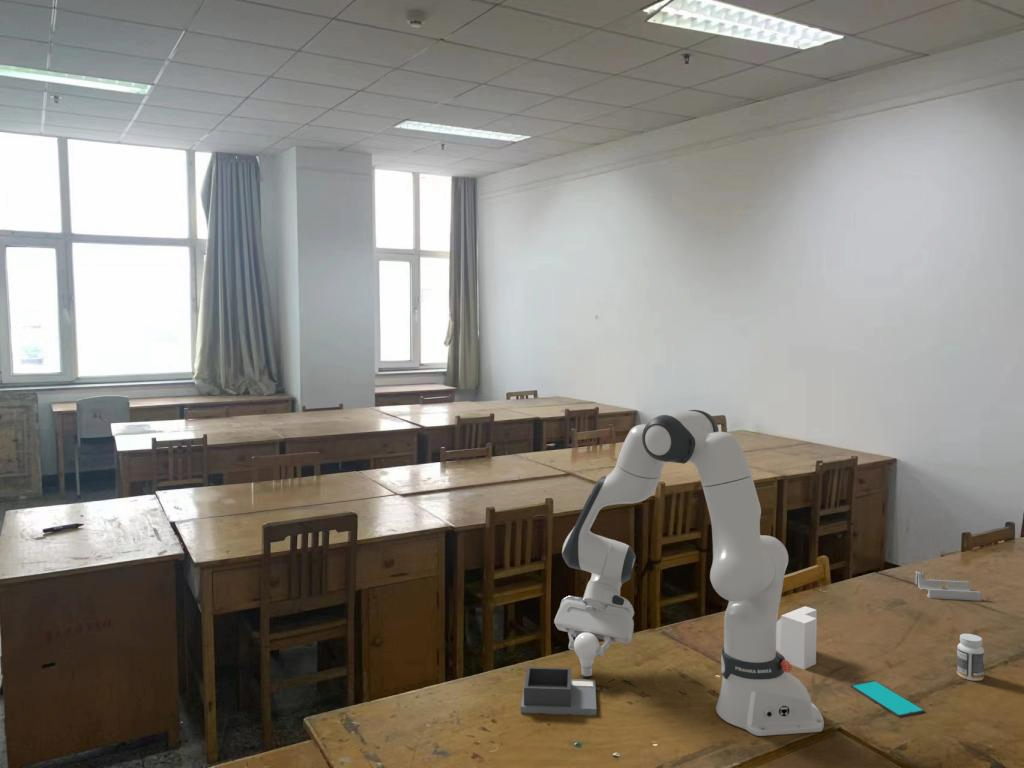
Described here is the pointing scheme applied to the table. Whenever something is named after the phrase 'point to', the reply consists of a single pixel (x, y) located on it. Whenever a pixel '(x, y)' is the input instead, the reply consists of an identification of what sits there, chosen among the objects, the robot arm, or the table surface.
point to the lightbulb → (586, 651)
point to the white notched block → (798, 637)
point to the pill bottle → (970, 657)
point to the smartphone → (887, 699)
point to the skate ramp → (954, 591)
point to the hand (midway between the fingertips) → (585, 652)
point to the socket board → (557, 692)
